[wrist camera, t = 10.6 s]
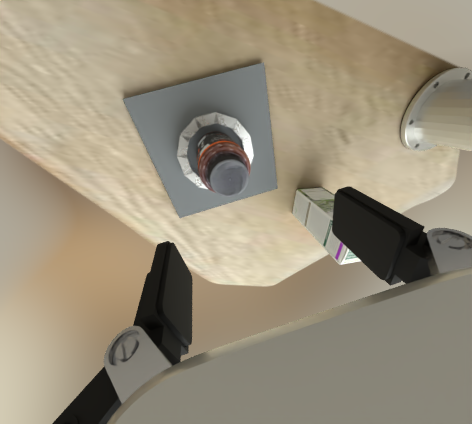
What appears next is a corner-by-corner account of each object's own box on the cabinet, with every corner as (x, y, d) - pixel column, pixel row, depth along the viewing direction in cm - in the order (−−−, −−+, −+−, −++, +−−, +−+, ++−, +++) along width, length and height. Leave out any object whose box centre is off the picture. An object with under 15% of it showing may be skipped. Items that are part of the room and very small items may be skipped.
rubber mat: (261, 63, 24) (264, 62, 23) (275, 186, 34) (277, 188, 33) (124, 99, 23) (122, 99, 22) (180, 215, 33) (179, 218, 32)
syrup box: (291, 214, 38) (339, 268, 26) (296, 187, 35) (353, 234, 22) (316, 211, 39) (373, 261, 27) (323, 185, 36) (391, 228, 24)
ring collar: (241, 104, 25) (244, 104, 23) (253, 174, 31) (257, 179, 29) (166, 124, 24) (164, 126, 23) (193, 192, 30) (193, 198, 28)
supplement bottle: (188, 140, 26) (187, 163, 16) (227, 123, 26) (248, 136, 16) (206, 177, 29) (214, 214, 20) (240, 162, 29) (265, 191, 20)
